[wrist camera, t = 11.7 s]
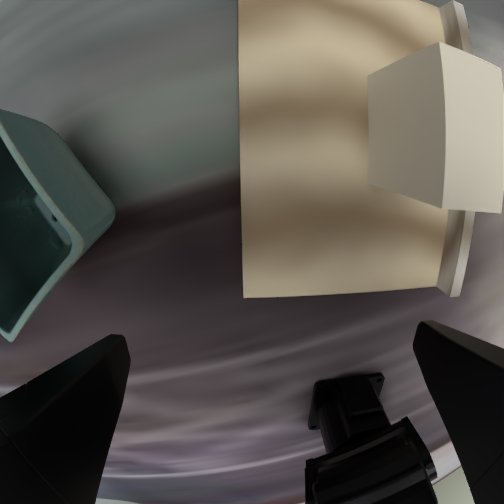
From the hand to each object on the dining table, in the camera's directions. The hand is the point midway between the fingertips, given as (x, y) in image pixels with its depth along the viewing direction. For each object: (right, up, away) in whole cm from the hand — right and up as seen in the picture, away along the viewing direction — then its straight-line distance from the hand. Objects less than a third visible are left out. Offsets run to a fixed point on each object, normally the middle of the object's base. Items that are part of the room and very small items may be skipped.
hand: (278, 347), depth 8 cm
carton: (+8, +10, +8) cm, 16 cm away
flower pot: (-13, +6, +10) cm, 18 cm away
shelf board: (+6, +11, +9) cm, 16 cm away
